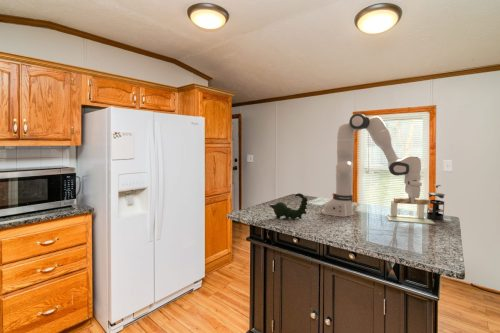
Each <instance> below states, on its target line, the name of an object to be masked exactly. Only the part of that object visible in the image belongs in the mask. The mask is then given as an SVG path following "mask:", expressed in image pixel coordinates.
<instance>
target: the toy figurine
mask: <svg viewBox="0 0 500 333" xmlns="http://www.w3.org/2000/svg"><path fill="white" fill-rule="evenodd" d="M294 197H296V198H297V197H299V198H300V199H301V201H300V205H299V207H298V209H293V208H291V207H288V205H287V204H286V203H285V202H283V201H281V202H280V201H279V202H276V203H275V204H269V207H271V209H273V213H274V214H275V218H276V219H278V218H279V219H281V217H285V218H284V219H286V220H289V219H290V218H291V220H293V219H295V220H296V219H297V218H298V220H299V219H300V220H302V215H306V214H307V211H306V210H307V209H308V208H307V205H308V197H306V196H304V194H302V193H299V192H298V193H297V194H295V195H294Z"/></svg>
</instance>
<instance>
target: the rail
mask: <svg viewBox="0 0 500 333" xmlns="http://www.w3.org/2000/svg"><path fill="white" fill-rule="evenodd" d="M430 200H431V199H429V198H428V199H427V198H415V200H414V203H411V202H410V201H411V198H409V197H408V198H407V197H393V201H394V203H397V204H404V205H417V204H422V205H425V206H428V205H431V204H430Z"/></svg>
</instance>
